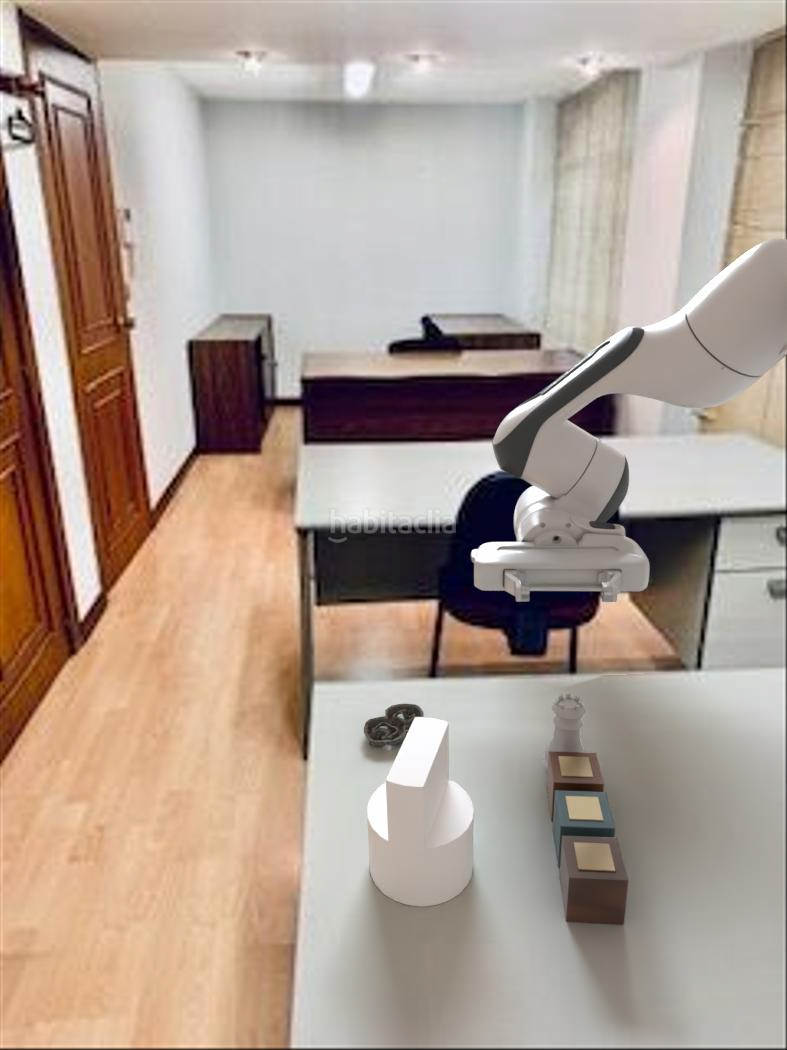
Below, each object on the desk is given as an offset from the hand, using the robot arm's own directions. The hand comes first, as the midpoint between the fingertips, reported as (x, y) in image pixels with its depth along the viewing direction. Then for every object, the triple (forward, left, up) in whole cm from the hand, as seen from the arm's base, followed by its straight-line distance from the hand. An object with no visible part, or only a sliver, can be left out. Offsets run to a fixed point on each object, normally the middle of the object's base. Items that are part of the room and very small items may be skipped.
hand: (566, 596), depth 83 cm
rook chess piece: (+1, +12, -14) cm, 18 cm away
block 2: (+1, +28, -14) cm, 31 cm away
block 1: (+1, +17, -14) cm, 22 cm away
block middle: (+1, +23, -14) cm, 27 cm away
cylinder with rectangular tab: (+15, +25, -14) cm, 32 cm away
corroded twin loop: (+19, +6, -14) cm, 24 cm away
